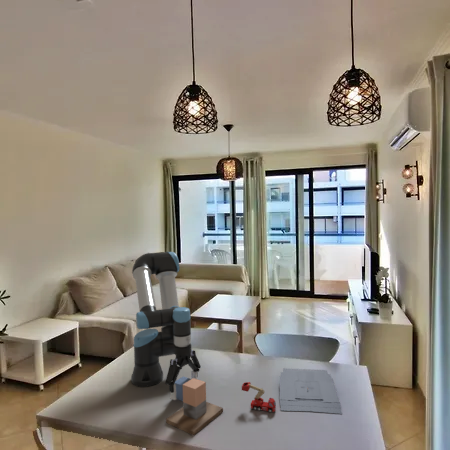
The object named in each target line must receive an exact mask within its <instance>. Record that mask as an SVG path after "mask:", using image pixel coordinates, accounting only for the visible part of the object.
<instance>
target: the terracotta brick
mask: <svg viewBox="0 0 450 450" xmlns="http://www.w3.org/2000/svg"><path fill="white" fill-rule="evenodd" d="M190 379H191V380H189V381H188V382H186V383H184V384H183V401H182V403H183V402H184V403H187V404H189V405H192V406H194V407H197V406H198V405H199V404H201V403H202V402H203V401H205V400H206V401H207V387H206V385H207V384H206V383H207V382H206V381H203V380H201V379H198V378H197V379H195V378H193V379H192V378H190Z"/></svg>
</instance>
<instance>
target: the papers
mask: <svg viewBox="0 0 450 450" xmlns="http://www.w3.org/2000/svg"><path fill="white" fill-rule="evenodd" d="M339 398H340V397H339V395H338V391H337V387H336V384H335V381H334V379H333V377H332V375H331V373H328V370H327V369H306V368H304V369H303V368H285V367H284V368H282V371H281V372H280V375H279V406H280V411H284V412H285V411H288V412H289V411H292V412H314V413H326V414H328V413H329V414H337V415H342V414H343V411H342V406H341V401H340V399H339Z"/></svg>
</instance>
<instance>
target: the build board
mask: <svg viewBox="0 0 450 450" xmlns="http://www.w3.org/2000/svg"><path fill="white" fill-rule="evenodd" d="M182 404H183V405H182V406H183V407H181V408H180V409H178V410H177V411H175V412H174V413H173V414H170V415H169V416H168V417H166V418H165V424H168V425H170V426H172V427H174V428H177V429H179V430H181V431H182V432H185V433H188V434H189V435H191V436H195V435H197V433H199V432H200V431H201V430H203V429H204V428H205V427H206V426H207V425H208V424H210V423H212V421H213V420H215V419H216V418H217V417H219V415H221V414H222V413H223V412H224V408H223V407H221V406H219V405H216V404H213V403H211V402H208V401H207V399H206V400H205V401H203V402H202V403H201V404H199V405H198V406H197V407H194V406H192V405H189V404H187V403H184V402H183V401H182Z"/></svg>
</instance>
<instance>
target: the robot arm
mask: <svg viewBox="0 0 450 450" xmlns="http://www.w3.org/2000/svg"><path fill="white" fill-rule="evenodd" d="M179 271H180V261H179V257H178V255H177V253H176V252H174V251H164V252H163V251H162V252H161V251H160V252H147V253H144V254H142V255H140V256H139V257H138V258H137V259H136V260H135V261H134V264H133V266H132V271H131V273H132V277H133V279H134V281H135V286H136V294H137V300H138V309H139V311H138V312H136V314H135V321H136V328H137V329H139V330H141V331H138V332H137V333H136V334H135V335H134V337H133V354H134V356H133V357H134V359H133V360H134V362H133V363H134V367H133V370H132V374H131V384H132V385H134V386H136V387H141V388H142V387H143V388H144V387H152V386H155V385H157V384H159V383H160V382H162V381H163V379H164V371H163V370H162V369H163V368H162V366H161V363H160V357H166V356H173V355H175V358H174V359H170V360H169V367H168V370H167V374H166V378H165V381H164V382H165V383H164V384H165V385H167V386H168V390H169V395H170V396H169V397H170V399H171V400H173V401H176V400H177V399H176V384H174V383H175V381H176V380H178V379H177V378H178V376H179V373H180V371H181V370H182V369H183V367H185V366H188V367H190V368H191V379H193V378H195V379H198V372H200V369H201V366H202V365H201V363H200V361H199V359H198V357H197V355H196V350H193V348H192V331H191V329H192V328H191V326H192V324H191V318H192V317H191V309H190V308H189V307H184V306H183V307H182V306H179V298H178V292H177V291H178V290H177V283H176V277H177V276H178V273H179ZM152 275H155V278H156V279H157V280H158V282H159V293H160V300H161V301H160V302H161V309H157V305H156V302H155V301H156V300H155V296H154V295H155V294H154V289H153V285H152V280H151V276H152ZM159 327H161V329H160V330H161V331H159V330H158V329H157V328H159Z"/></svg>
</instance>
